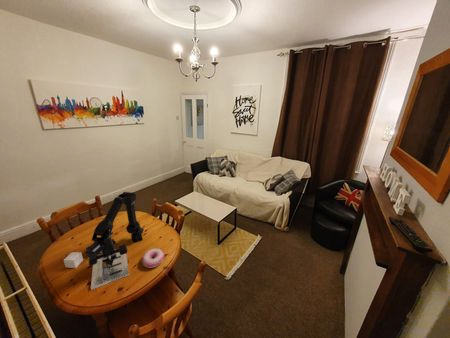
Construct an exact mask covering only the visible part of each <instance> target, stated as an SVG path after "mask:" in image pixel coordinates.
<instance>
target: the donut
mask: <svg viewBox="0 0 450 338" xmlns="http://www.w3.org/2000/svg"><path fill="white" fill-rule="evenodd" d="M164 259H165V252H164V251H162V249H160V248H151V249H149V250H147V251H145V253H144V254H143V255H142V257H141V263H142V265H143V266H144V267H145V268H147V269H148V268H149V269H151V268H155V267H158V266H159V265H161V264H162V263H163V261H164Z"/></svg>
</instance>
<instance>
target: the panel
mask: <svg viewBox="0 0 450 338" xmlns="http://www.w3.org/2000/svg"><path fill="white" fill-rule="evenodd" d="M127 254H128V252H127V253H126V254H123V255H120V253H117V254H116V256H117V257H116V258H115V259H114V261H113V264H112V266H111V265H109V278H106V279H104V280H103V277H102V270H103V269H102V263H103V262H102V258H100V259H98V260H97V261H98V262H97V264H94V265H92V271H91V285H90V290H91V291H92V290H95V289H98V288H99V287H102V286H105V285H107V284H110V283H112V282H114V281H118V280H120V279H123V278H125V277H128V276H130V273H129V263H128V255H127ZM109 258H110V260H111V256H109Z"/></svg>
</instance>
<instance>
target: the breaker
mask: <svg viewBox="0 0 450 338" xmlns="http://www.w3.org/2000/svg"><path fill="white" fill-rule="evenodd" d="M102 277H103V280H104V279H106V278H109V268H105V269H104V270H102Z"/></svg>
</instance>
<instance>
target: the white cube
mask: <svg viewBox="0 0 450 338" xmlns="http://www.w3.org/2000/svg"><path fill="white" fill-rule="evenodd" d="M83 261H84V257H83V255H82V252H78V251H77V252H75V251H73V252H70V253H69V254H68V255H67V256H66V257H65V258H64V259H63V262H64V263H63V264H64V266H65V268H66V269H67V268H72V269H73V268H75V269H76V268H78V266H79V265H80V264H81V263H82V262H83Z"/></svg>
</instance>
